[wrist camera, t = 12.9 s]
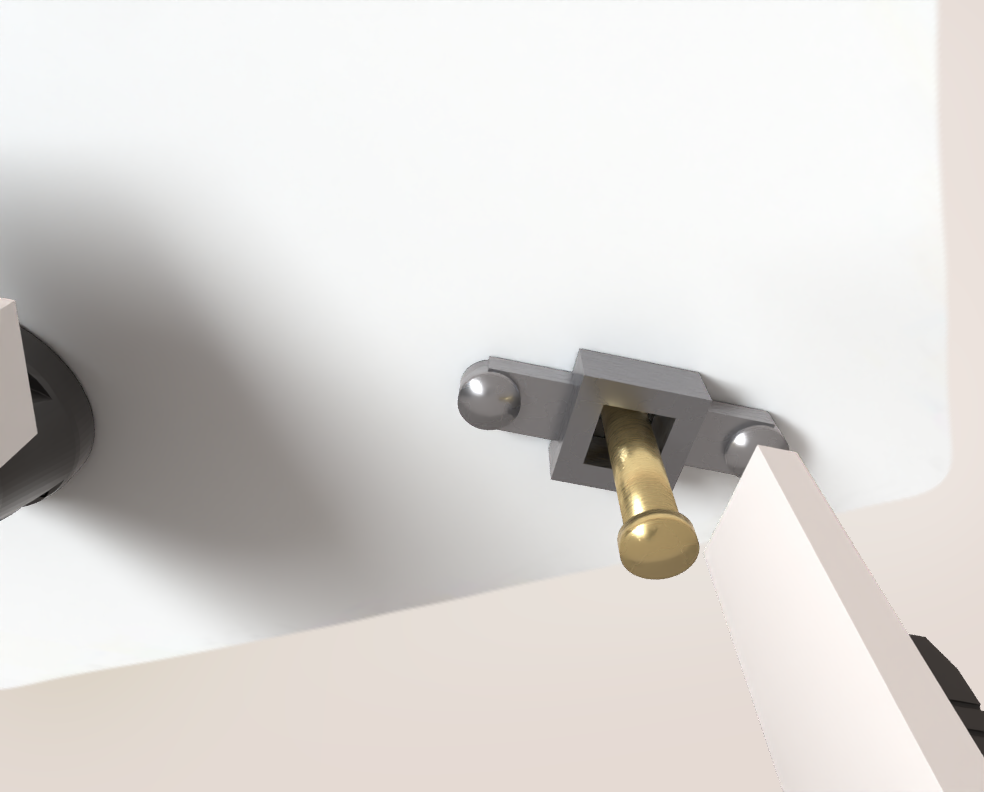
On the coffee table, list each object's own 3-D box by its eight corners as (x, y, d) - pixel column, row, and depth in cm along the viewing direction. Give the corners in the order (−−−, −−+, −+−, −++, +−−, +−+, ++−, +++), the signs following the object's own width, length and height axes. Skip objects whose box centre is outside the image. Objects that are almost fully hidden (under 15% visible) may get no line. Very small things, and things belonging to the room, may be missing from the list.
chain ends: (450, 429, 47) (445, 459, 44) (472, 326, 43) (468, 352, 40) (752, 486, 49) (767, 519, 46) (800, 393, 44) (821, 422, 41)
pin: (586, 431, 47) (610, 572, 35) (602, 382, 44) (633, 516, 33) (642, 441, 47) (683, 584, 36) (661, 392, 45) (711, 529, 34)
